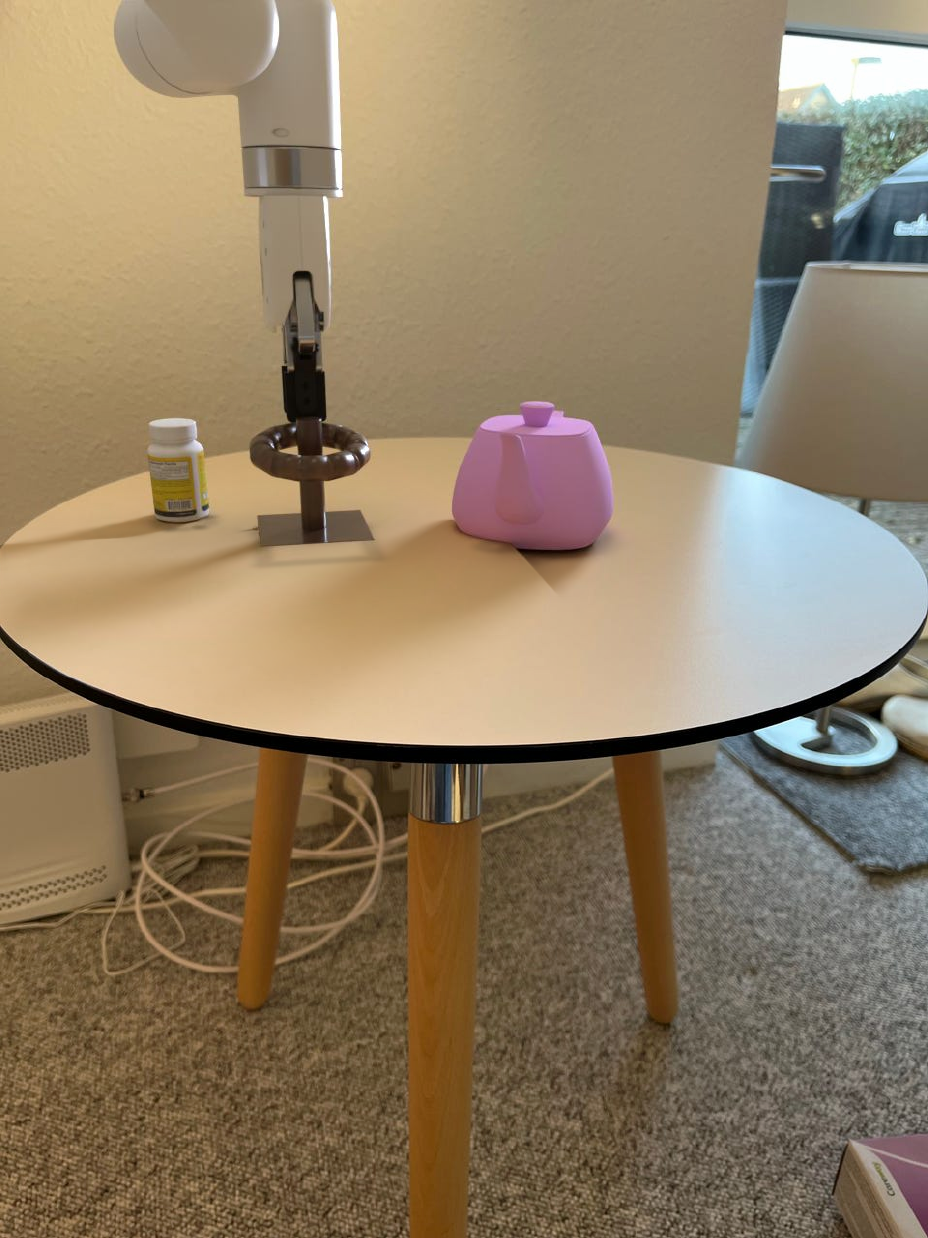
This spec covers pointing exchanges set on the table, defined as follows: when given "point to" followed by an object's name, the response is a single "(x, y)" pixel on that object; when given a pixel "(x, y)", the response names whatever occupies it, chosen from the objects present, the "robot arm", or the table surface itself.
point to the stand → (312, 506)
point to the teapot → (534, 481)
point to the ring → (309, 467)
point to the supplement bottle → (177, 471)
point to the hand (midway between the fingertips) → (304, 415)
